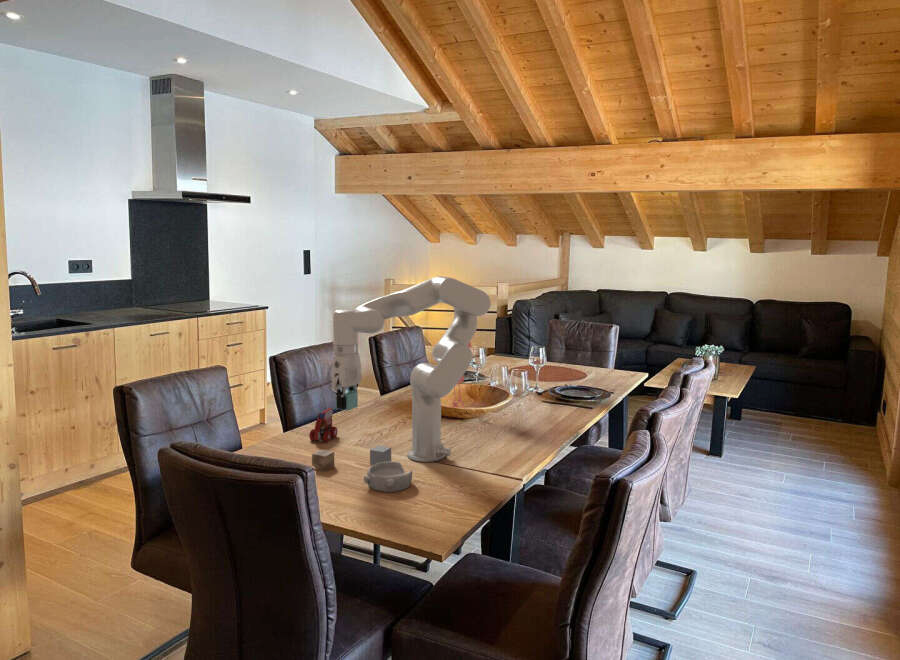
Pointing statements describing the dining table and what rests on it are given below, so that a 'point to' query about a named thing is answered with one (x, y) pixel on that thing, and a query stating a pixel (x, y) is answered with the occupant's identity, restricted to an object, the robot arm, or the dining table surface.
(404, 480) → the dish
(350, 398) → the teal block
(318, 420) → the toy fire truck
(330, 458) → the walnut block
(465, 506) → the dining table surface
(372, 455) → the slate grey block
